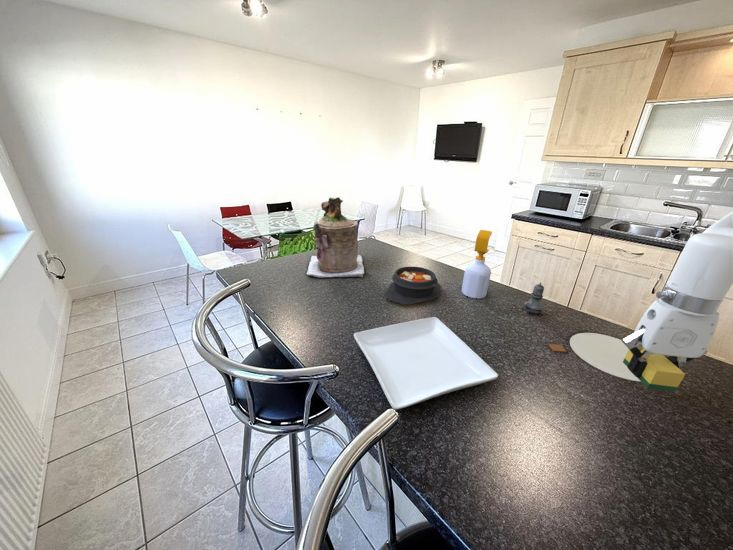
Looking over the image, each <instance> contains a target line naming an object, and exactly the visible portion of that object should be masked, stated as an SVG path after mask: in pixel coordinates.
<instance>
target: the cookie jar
mask: <svg viewBox="0 0 733 550" xmlns="http://www.w3.org/2000/svg"><path fill="white" fill-rule="evenodd" d="M343 202H344V200H343V199H341V198H340V197H338V196H337V197H328V200H327V201H323V202H321V204H320V207H321V210H322V211H324V213H323V216H322V217H321V218H320V219H319V220H317V221H316V222H314V223H313V231H314V236H315V239H313V243H314V244H315V245H316V246H317V250H316V251H317V252H316V255H311V256H310V261H309V262H308V263H309V264H308V268H307V272H306V276H311V277H314V278H315V277H316V278H319V279H321V278H364V274H365V270H364V269H365V267H364V264H363V257H362V255H360V254H359V242H358V235H357V234H358V233H357V228H358V226H359V223H358V221H356V220H353V219H349V218H347V217H346V216H345V215H343V214H342V207H341V205H342V203H343Z"/></svg>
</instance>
